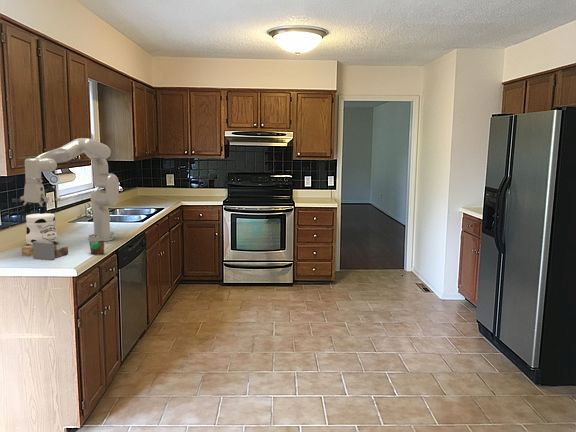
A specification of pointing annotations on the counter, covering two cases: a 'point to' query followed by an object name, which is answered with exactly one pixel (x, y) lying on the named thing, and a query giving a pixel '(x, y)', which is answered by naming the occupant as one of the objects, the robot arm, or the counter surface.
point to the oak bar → (27, 250)
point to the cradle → (60, 251)
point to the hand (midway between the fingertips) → (35, 213)
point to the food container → (96, 244)
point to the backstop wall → (43, 250)
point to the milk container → (41, 228)
